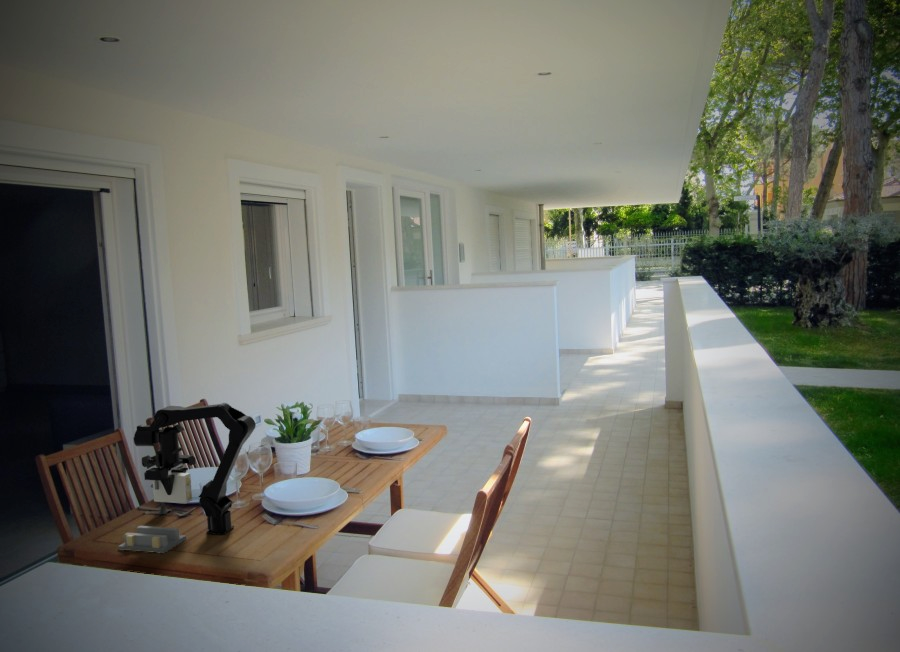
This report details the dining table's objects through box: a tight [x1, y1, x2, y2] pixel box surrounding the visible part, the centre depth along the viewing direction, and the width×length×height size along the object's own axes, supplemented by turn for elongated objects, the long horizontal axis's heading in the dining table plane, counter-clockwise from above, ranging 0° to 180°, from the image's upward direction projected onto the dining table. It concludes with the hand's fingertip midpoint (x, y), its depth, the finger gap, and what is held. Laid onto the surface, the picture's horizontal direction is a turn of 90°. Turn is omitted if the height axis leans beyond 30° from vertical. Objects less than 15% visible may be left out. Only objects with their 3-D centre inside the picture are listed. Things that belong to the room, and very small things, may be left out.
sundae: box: [150, 483, 170, 516], centre depth 243 cm, size 7×7×15 cm
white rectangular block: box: [151, 472, 193, 504], centre depth 224 cm, size 13×4×9 cm, turn 76°
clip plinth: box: [117, 525, 187, 554], centre depth 215 cm, size 16×11×4 cm
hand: (172, 493), depth 225 cm, fingers closed on white rectangular block, 3 cm apart
